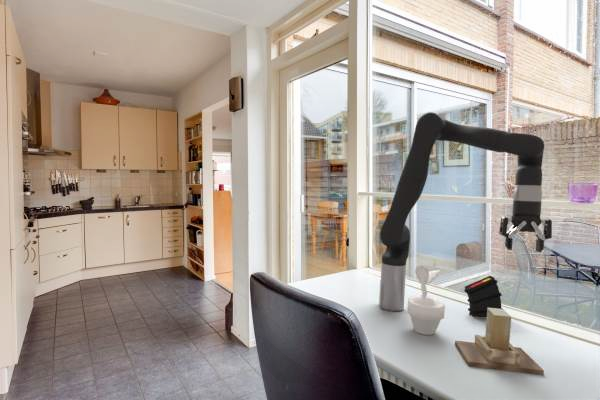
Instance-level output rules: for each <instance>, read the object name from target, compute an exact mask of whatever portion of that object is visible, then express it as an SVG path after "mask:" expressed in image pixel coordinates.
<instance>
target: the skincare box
mask: <svg viewBox="0 0 600 400" xmlns="http://www.w3.org/2000/svg"><path fill="white" fill-rule="evenodd" d="M511 325H512V316H511V315H510V314H509V313H508V312H507V311H506V310H505V309H504V308H502V309H497V308H487V318H486V323H485V335H484V336H485V342H486V343H487V345H488V346H489V347H490V348H491V349H499V350H508V351H509V343H510V341H511V340H510V338H511Z"/></svg>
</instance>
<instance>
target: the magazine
mask: <svg viewBox="0 0 600 400" xmlns="http://www.w3.org/2000/svg"><path fill="white" fill-rule="evenodd" d="M463 291H464V293H466V294H467V298H468V299H467V302H468V304H469V307H468V308H467V311H468V312H469V313H468V315H469V316H471V315H472V316H473V317H472V316H471V317H472V318H484V317H487V308H497V309H503V307H502V299H501V297H502V296H503V295H502V292H500V290H499V286H498V280H497V279H496V278H495V277H494V276H492V275H488V276H486V277H484V278H481V279H479V280H476V281H474V282H472V283H470V284H468V285H465V286H464V289H463Z"/></svg>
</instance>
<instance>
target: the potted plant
mask: <svg viewBox="0 0 600 400" xmlns="http://www.w3.org/2000/svg"><path fill="white" fill-rule="evenodd" d="M436 265H437V263H436V259H434V262H433V264H432V266H433V269H434V270H431V271H429V269H428V268H427V267H426V266H425V265H422V264H419V265H417V266H416V267H415V275H416V277H417V279H418V282H419V284H420V288H421V293H422V295H420V296H419V295H418V296H412V297H408V298H407V308H406V309H407V311H406V312H407V314H408V315H409V316H410V319H411V323H412V327H413V330H414V331H415V332H416V333H418V334H420V335H422V336H423V335H425V336H431V335H434V334H436V332H437V329H438V327H439V325H440V323H441V321H442V320H444V319H445V313H446V309H445V308H446V304H445V302H442V301H441V300H439V299H435V298H434V297H433V296H432V297H431V296H429V295H428V290H427V285H428V284H431V283H432V282H433V281H435V280H436V279H437V278H438V277H439V275H438V274H439V273H440V272H441V269H438V270H435V269H436V268H435V267H436Z"/></svg>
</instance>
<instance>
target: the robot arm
mask: <svg viewBox="0 0 600 400" xmlns="http://www.w3.org/2000/svg"><path fill="white" fill-rule="evenodd" d="M436 141H444V142H453V143H459V144H463V145H467V146H470V147H474V148H478V149H483V150H486V151H490V152H496V153H507V154H509V155H510V154H512V155H515V156H517V169H516V173H515V183H514V191H513V196H512V201H513V202H512V216H511V217H506V216H501V218H500V224H499V232H498V234H499V235H500V236H503V237H505V239H504V246H505V249H507V250H508V251H512V250H513V237H515V235H516V234H518V233H519V232H520V233H521V232H522V233H526V232H527V233H532V234H534V236H535V237H536V241H535V251H536V252H537V253H542V251H544V250H545V249H544V247H545V241H546V240H550V239H552V238H553V235H552V234H553V232H552V231H553V228H552V227H553V221H552V220H551V219H547V218H544V219H541V214H542V200H543V199H542V198H543V191H542V189H543V188H542V187H543V186H542V184H543V169H542V168H543V167H542V165H543V157H544V150H545V142H544V140H543V139H542V138H541V137H540V136H537V135H534V134H529V133H519V132H509V131H506V130H502V129H496V128H490V127H484V126H471V125H464V124H459V123H455V122H452V121H450V120H448V119H444V118H443V117H442V116H440V115H439V114H438V113H435V112H431V111H430V112H429V111H428V112H426V113H423V114H422V115H421V116H420V117H419V118H418V119H417V121H416V125H415V128H414V132H413V137H412V143H411V147H410V149H409V153H408V154H407V157H406V160H405V162H404V163H405V164H404V166H403V168H402V172H401V174H400V176H399V180H398V183H397V187H396V190H395V193H394V195H393V199H392V201H391V204H390V208H389V210H388V213H387V214H386V217H385V219H384V221H383V224H382V226H381V227H380V228H381V229H380V232H379V238H380V241H381V243H382V244H383V245H384V246H386V248H385V251H384V253H383V254H382V256H381V267H380V268H381V270H380V280H379V294H378V295H379V297H378V298H379V299H378V305H379V306H378V307H379V309H383V310H385V311H386V310H387V311H391V312H400V311H403V310H405V294H406V293H405V292H406V291H405V290H406V274H407V273H406V272H407V261H408V258H409V253H410V243H411V232H410V228H409V227H408V226H407V225H406V222H407V219H408V217H409V214H410V213H411V210H412V209H413V208H414V207H415V205H416V203H417V202H418V201H419V199H420V197H421V195H422V193H423V191H424V189H425V185H426V182H427V179H428V174H429V166H430V158H431V153H432V152H433V151H432V150H433V147H434V145H435V143H436ZM510 223H511V224H512V226H511V227H509V229H508V225H510ZM540 225H541V226H542V227H543V232H542V231H541V229H540V228H539V227H540Z"/></svg>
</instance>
